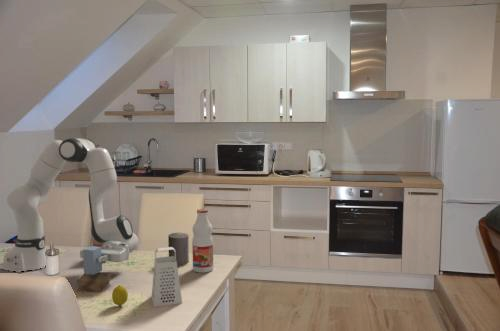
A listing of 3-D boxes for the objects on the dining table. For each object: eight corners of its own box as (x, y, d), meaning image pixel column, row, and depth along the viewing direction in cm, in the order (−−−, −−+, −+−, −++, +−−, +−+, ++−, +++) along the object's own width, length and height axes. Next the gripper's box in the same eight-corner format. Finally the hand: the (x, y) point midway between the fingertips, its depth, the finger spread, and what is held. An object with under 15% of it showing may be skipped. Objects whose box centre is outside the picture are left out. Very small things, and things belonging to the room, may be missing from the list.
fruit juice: (217, 269, 215) (216, 209, 212) (201, 274, 208) (200, 212, 205) (205, 265, 221) (204, 206, 219) (188, 269, 215) (187, 209, 212)
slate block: (84, 273, 191) (83, 249, 190) (92, 269, 196) (91, 246, 195) (94, 274, 189) (93, 250, 188) (102, 270, 194) (101, 247, 193)
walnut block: (77, 292, 188) (76, 280, 188) (85, 283, 198) (85, 272, 198) (102, 292, 188) (101, 280, 188) (109, 283, 198) (109, 272, 198)
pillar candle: (164, 262, 225) (163, 232, 224) (180, 258, 232) (180, 228, 231) (177, 267, 219) (176, 236, 217) (193, 262, 226) (192, 232, 224)
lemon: (114, 303, 176) (113, 282, 175) (129, 303, 176) (128, 282, 176) (111, 309, 170) (110, 288, 170) (126, 308, 171) (125, 287, 170)
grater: (182, 303, 176) (181, 251, 174) (153, 306, 173) (152, 253, 171) (178, 293, 186) (177, 244, 184) (151, 296, 183) (150, 246, 181)
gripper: (92, 241, 207) (70, 249, 194) (131, 245, 200) (111, 254, 188) (92, 255, 208) (70, 264, 195) (131, 259, 201) (112, 269, 188)
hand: (91, 259), depth 191 cm, fingers closed on slate block, 5 cm apart
